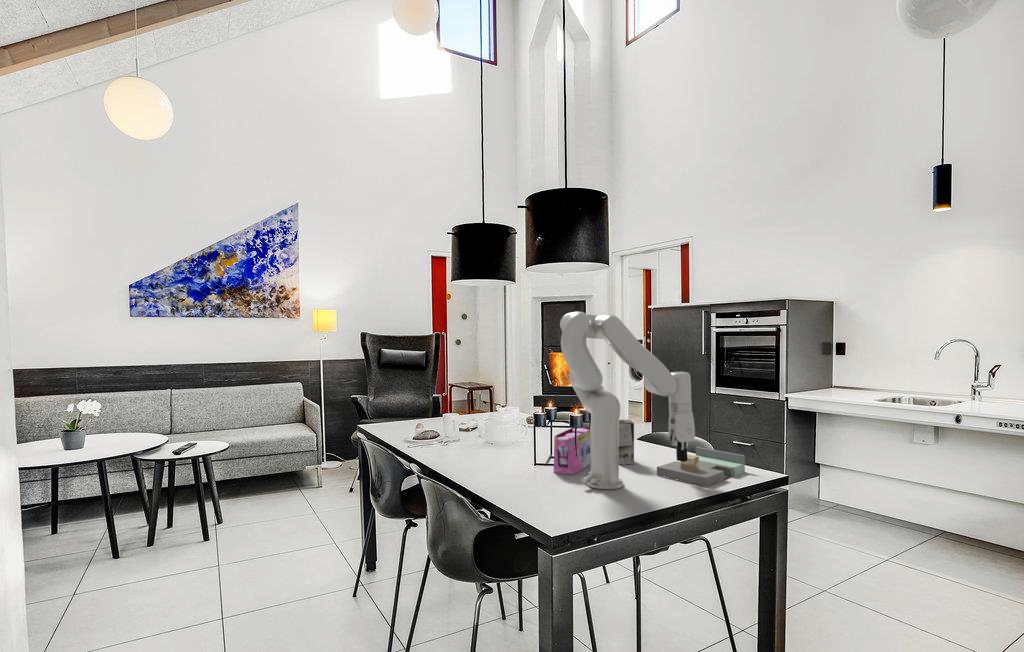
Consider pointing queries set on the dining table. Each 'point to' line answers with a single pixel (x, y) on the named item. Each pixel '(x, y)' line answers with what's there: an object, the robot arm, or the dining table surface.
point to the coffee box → (626, 442)
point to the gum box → (571, 451)
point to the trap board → (706, 467)
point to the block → (690, 463)
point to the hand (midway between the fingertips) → (682, 460)
